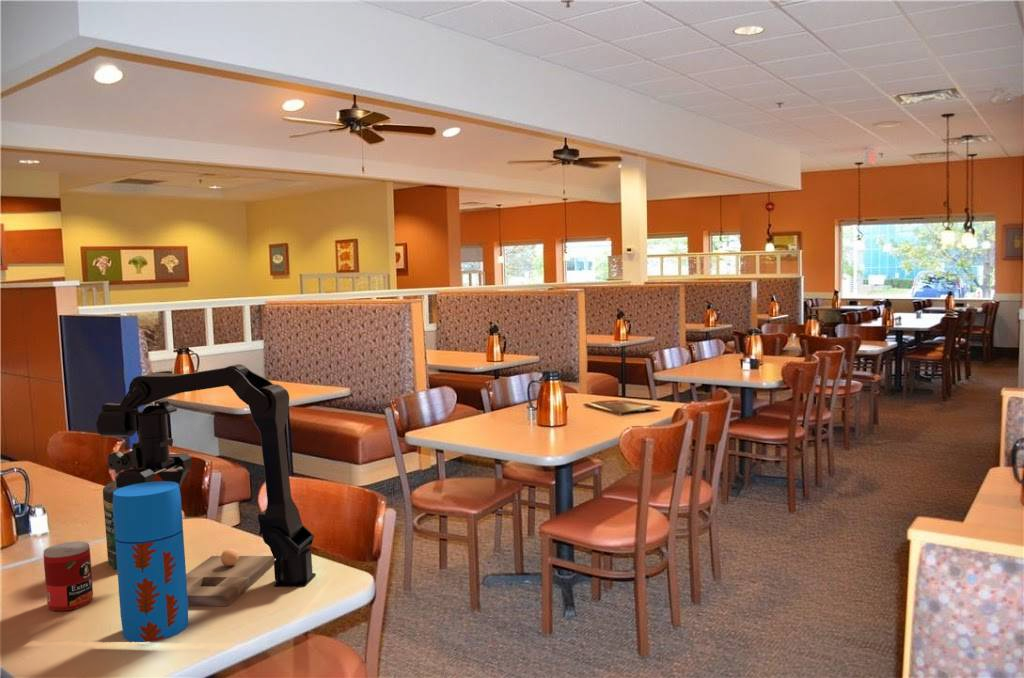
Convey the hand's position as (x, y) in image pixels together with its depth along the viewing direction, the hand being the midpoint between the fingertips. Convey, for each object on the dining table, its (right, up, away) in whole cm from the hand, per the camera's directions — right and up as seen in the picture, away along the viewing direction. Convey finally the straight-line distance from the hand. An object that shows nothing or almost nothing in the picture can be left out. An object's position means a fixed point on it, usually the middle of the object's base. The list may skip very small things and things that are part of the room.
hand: (158, 511), depth 165 cm
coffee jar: (-11, -14, +11) cm, 21 cm away
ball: (+14, -10, +2) cm, 17 cm away
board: (+13, -14, -3) cm, 20 cm away
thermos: (+10, -16, -23) cm, 30 cm away
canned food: (-12, -16, -10) cm, 22 cm away
